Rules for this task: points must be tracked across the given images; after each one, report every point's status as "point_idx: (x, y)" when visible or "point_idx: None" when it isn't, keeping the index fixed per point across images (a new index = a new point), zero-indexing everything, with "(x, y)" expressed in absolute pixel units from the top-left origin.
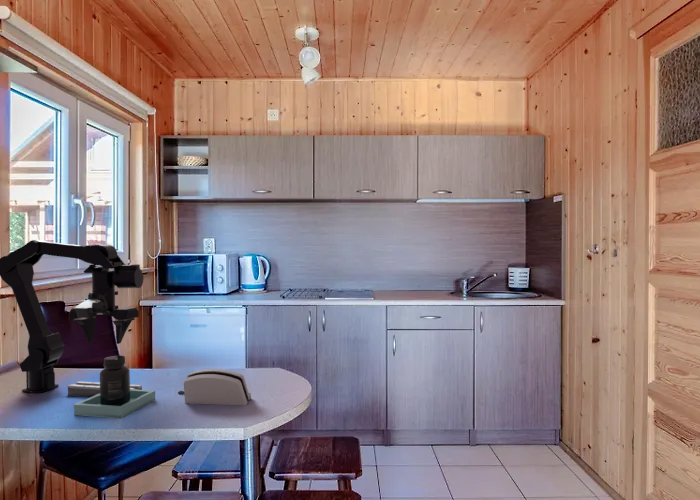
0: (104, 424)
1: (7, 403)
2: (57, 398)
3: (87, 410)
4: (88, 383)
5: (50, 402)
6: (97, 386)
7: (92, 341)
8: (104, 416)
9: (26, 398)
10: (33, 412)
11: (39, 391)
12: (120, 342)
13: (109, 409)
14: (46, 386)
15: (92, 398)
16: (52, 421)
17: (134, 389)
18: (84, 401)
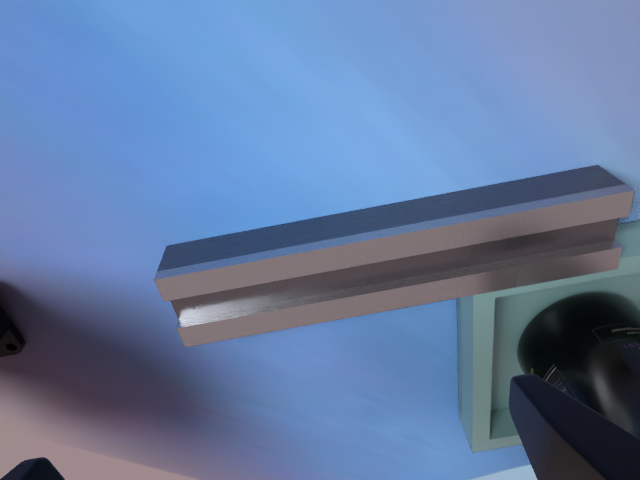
0: None
1: (72, 442)
2: (198, 350)
3: None
4: (257, 283)
5: (228, 384)
6: (370, 301)
7: (40, 467)
8: None
9: (62, 394)
10: (286, 449)
11: (19, 351)
12: (542, 385)
13: None
14: (2, 337)
15: (490, 397)
16: (433, 460)
17: (625, 257)
18: (487, 426)
